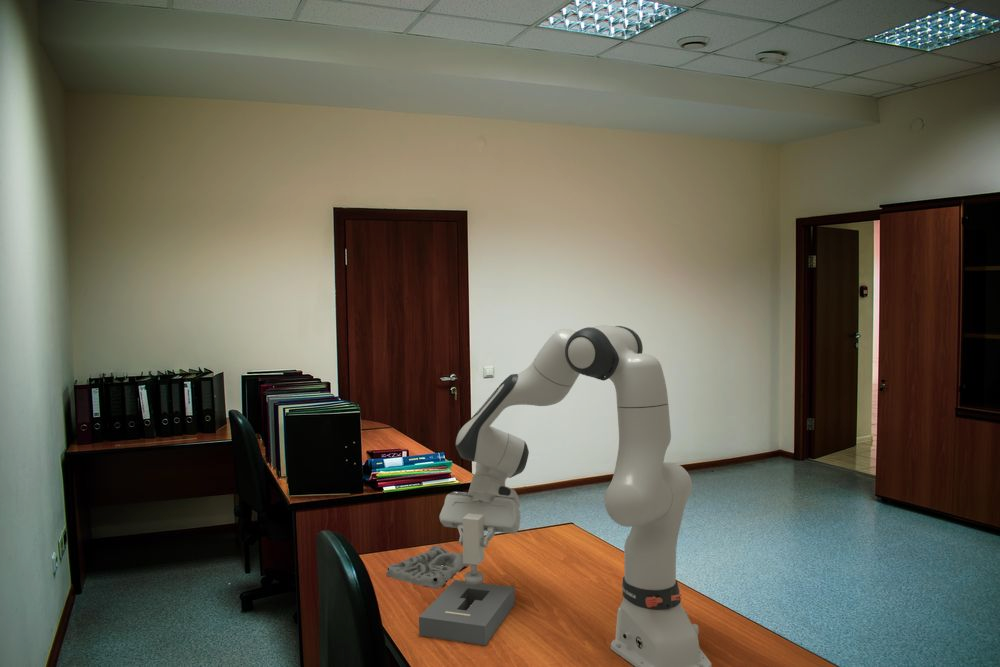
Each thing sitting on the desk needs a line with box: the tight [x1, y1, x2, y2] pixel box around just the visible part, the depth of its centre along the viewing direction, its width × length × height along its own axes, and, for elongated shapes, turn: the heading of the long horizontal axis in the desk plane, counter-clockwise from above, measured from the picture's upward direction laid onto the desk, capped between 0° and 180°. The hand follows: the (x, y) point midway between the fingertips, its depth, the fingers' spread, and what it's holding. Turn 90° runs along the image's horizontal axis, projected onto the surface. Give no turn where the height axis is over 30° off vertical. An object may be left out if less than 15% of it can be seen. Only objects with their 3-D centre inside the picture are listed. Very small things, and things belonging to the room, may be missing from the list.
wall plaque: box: [385, 545, 471, 589], centre depth 202 cm, size 24×19×4 cm
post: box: [462, 513, 485, 586], centre depth 173 cm, size 4×4×16 cm
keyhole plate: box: [418, 579, 516, 647], centre depth 169 cm, size 22×16×5 cm
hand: (472, 545), depth 172 cm, fingers closed on post, 4 cm apart
